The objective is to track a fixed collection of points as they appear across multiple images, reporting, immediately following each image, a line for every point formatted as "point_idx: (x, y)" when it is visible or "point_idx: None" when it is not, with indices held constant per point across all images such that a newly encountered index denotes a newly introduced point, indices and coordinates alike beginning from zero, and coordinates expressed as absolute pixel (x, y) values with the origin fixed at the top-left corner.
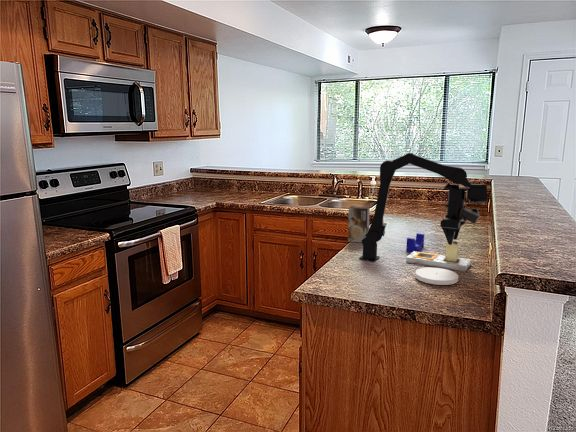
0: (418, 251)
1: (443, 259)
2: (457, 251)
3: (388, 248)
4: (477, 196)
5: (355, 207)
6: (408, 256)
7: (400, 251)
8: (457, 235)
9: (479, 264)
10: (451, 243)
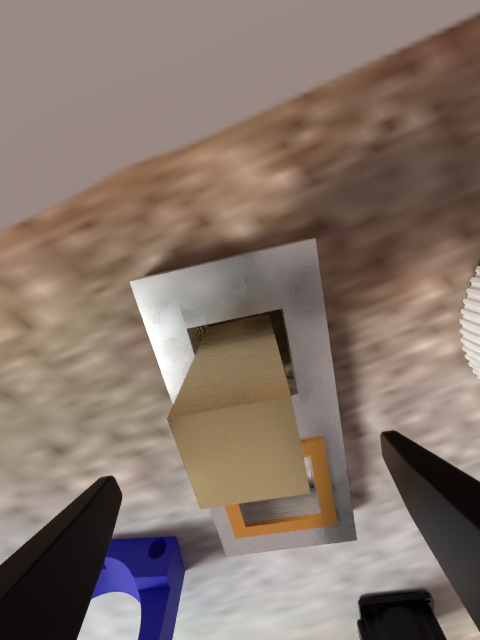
0: (149, 541)
1: None
2: (254, 359)
3: (201, 623)
4: None
5: None
6: (339, 537)
7: (204, 583)
8: (79, 519)
9: (99, 232)
10: (410, 440)
